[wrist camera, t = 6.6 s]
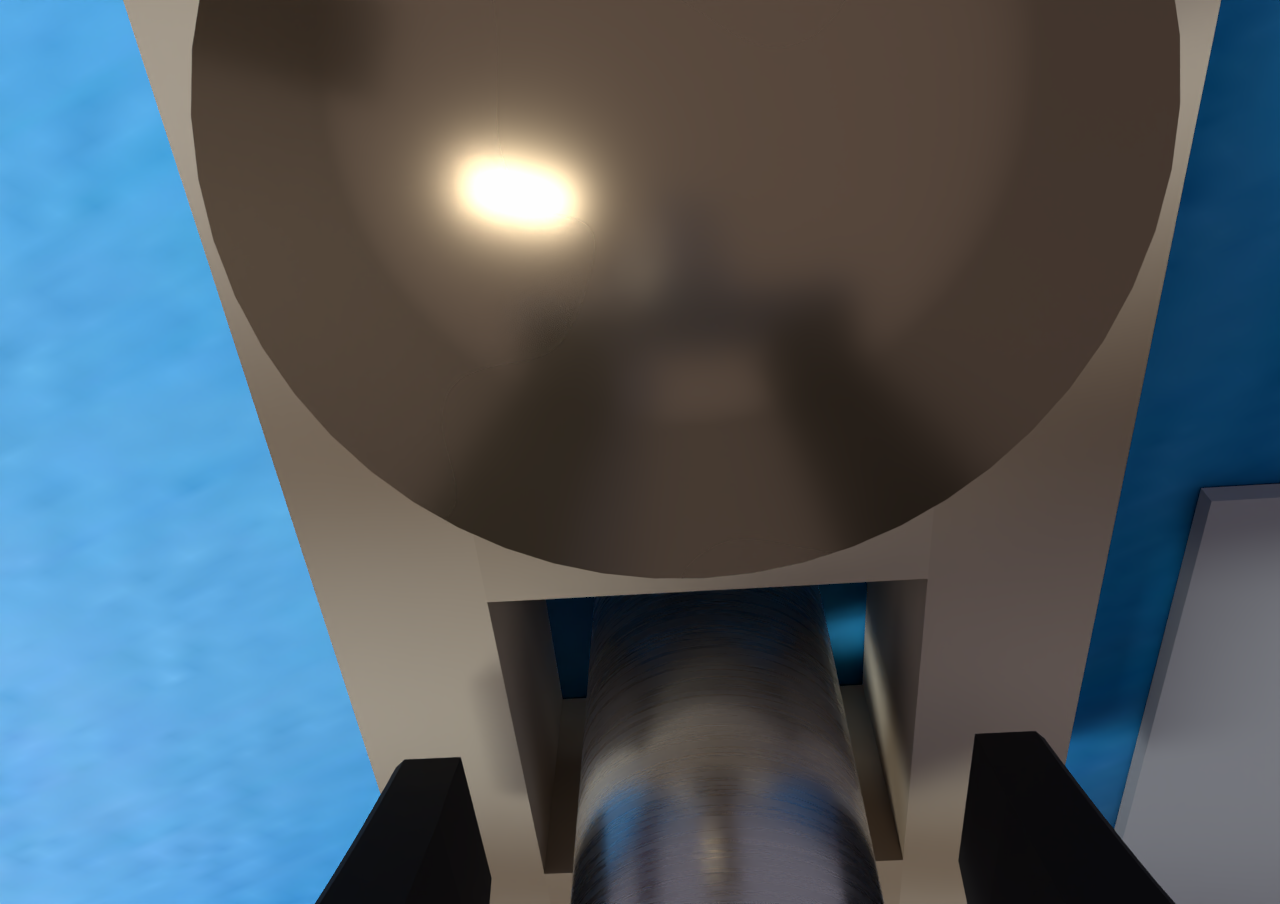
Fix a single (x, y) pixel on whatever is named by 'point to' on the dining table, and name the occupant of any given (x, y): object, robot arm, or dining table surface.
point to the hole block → (713, 583)
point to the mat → (1215, 714)
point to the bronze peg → (682, 249)
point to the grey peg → (718, 755)
